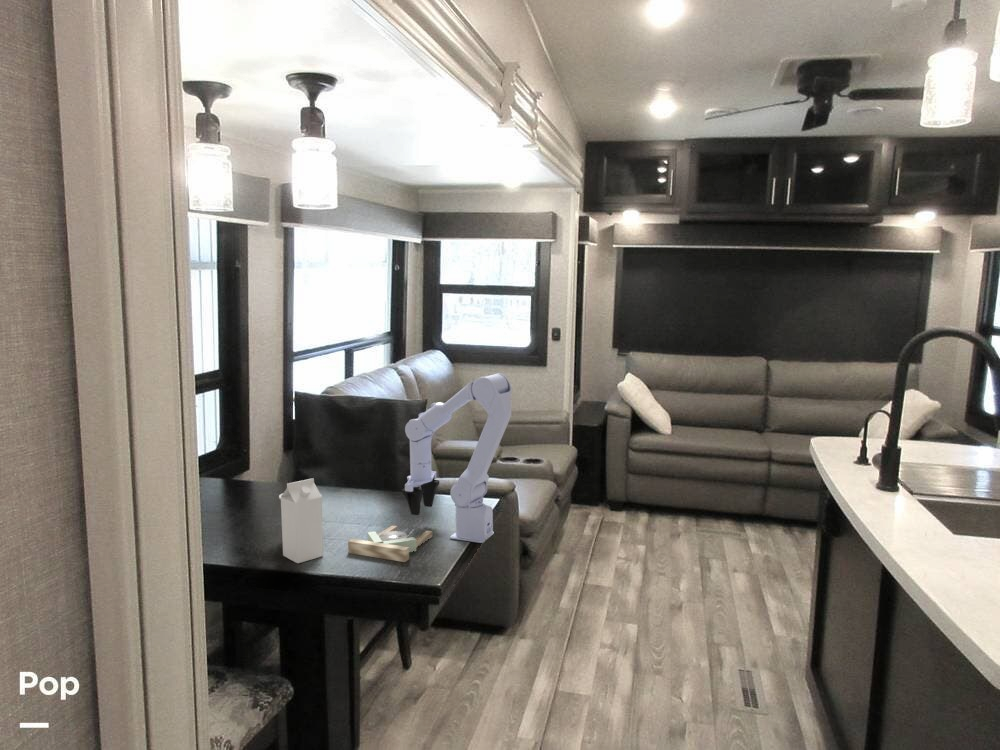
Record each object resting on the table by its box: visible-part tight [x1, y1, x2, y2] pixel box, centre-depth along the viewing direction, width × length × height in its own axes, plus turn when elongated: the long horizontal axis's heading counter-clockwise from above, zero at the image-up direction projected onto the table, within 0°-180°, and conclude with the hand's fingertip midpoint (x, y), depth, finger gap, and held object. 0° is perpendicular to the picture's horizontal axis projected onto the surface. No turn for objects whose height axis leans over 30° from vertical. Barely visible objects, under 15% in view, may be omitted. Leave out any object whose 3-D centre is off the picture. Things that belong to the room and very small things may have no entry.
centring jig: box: [347, 525, 433, 563], centre depth 181 cm, size 16×18×3 cm
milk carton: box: [280, 477, 324, 564], centre depth 172 cm, size 7×7×19 cm
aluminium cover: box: [379, 530, 408, 541], centre depth 180 cm, size 7×7×3 cm
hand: (421, 510), depth 193 cm, fingers open, 7 cm apart
